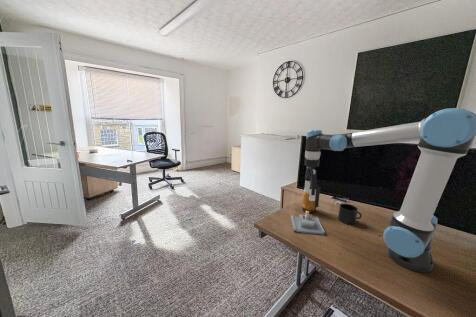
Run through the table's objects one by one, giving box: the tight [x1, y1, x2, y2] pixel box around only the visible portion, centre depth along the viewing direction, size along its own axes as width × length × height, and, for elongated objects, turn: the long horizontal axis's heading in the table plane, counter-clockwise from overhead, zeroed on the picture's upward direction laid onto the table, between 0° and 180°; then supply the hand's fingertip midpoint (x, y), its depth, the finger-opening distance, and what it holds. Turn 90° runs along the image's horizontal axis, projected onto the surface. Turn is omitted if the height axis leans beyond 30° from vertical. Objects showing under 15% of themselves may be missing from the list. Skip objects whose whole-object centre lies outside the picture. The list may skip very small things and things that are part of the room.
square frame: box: [298, 213, 314, 228], centre depth 111 cm, size 7×7×4 cm
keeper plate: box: [290, 211, 326, 236], centre depth 111 cm, size 16×16×9 cm
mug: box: [337, 203, 363, 225], centre depth 116 cm, size 9×12×9 cm
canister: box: [301, 184, 322, 213], centre depth 128 cm, size 9×11×20 cm
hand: (309, 195), depth 108 cm, fingers open, 13 cm apart
